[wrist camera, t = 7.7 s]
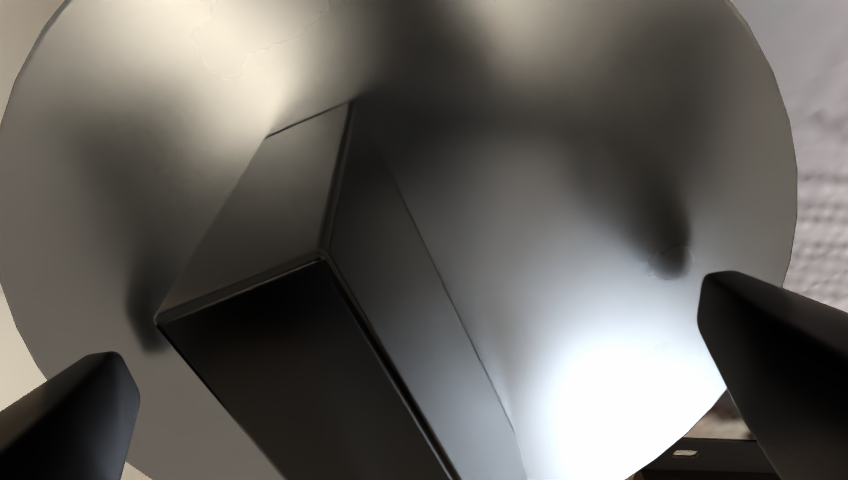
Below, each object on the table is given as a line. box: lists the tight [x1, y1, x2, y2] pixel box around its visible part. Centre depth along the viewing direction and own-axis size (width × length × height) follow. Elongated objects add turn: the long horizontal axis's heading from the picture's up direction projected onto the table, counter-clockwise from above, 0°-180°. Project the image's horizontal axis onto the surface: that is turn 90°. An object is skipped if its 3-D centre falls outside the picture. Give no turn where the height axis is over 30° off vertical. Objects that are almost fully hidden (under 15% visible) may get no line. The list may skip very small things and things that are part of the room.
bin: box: [0, 0, 797, 480], centre depth 10 cm, size 12×12×11 cm
